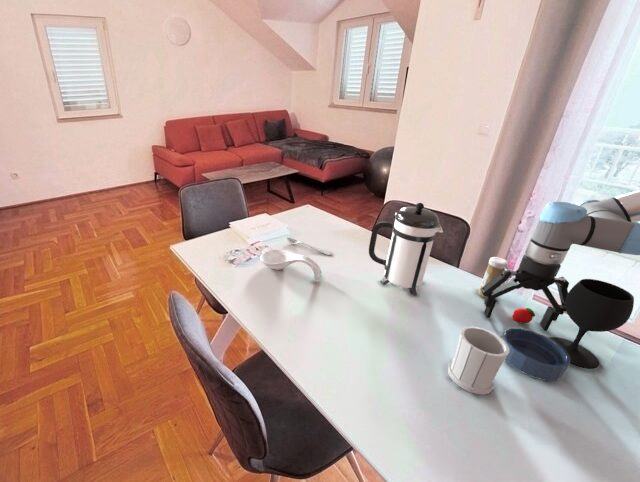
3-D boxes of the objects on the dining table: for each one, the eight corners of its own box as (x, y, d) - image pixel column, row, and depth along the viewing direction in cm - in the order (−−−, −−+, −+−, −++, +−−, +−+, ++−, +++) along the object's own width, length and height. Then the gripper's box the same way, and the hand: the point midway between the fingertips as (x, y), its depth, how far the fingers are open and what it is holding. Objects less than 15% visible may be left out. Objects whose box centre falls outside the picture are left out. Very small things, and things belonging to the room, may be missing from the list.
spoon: (288, 239, 140) (288, 235, 140) (332, 252, 129) (333, 249, 128) (284, 242, 137) (284, 239, 136) (329, 257, 126) (329, 253, 125)
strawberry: (514, 323, 93) (531, 316, 92) (522, 328, 89) (541, 320, 88) (505, 311, 94) (522, 303, 93) (513, 315, 90) (531, 307, 89)
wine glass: (543, 353, 81) (575, 290, 73) (544, 332, 88) (574, 271, 80) (601, 377, 75) (644, 310, 67) (597, 351, 82) (635, 288, 74)
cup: (446, 353, 81) (459, 317, 76) (489, 368, 77) (506, 331, 72) (447, 384, 73) (461, 345, 68) (495, 403, 68) (514, 363, 64)
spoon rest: (254, 267, 119) (254, 250, 116) (269, 254, 128) (270, 239, 125) (313, 288, 106) (315, 271, 104) (325, 273, 115) (327, 256, 113)
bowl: (547, 350, 82) (555, 336, 80) (572, 389, 72) (581, 373, 70) (491, 337, 86) (497, 323, 84) (507, 372, 76) (514, 357, 74)
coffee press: (409, 269, 118) (428, 193, 106) (434, 295, 103) (459, 211, 91) (363, 269, 117) (377, 194, 105) (382, 296, 103) (401, 212, 91)
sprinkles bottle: (491, 301, 100) (505, 265, 95) (475, 294, 104) (488, 259, 99) (496, 296, 103) (510, 260, 98) (480, 289, 106) (493, 254, 101)
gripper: (490, 256, 84) (467, 318, 93) (613, 276, 76) (575, 342, 84) (482, 244, 91) (461, 303, 99) (595, 261, 82) (561, 324, 91)
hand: (514, 321), depth 92 cm, fingers open, 13 cm apart
